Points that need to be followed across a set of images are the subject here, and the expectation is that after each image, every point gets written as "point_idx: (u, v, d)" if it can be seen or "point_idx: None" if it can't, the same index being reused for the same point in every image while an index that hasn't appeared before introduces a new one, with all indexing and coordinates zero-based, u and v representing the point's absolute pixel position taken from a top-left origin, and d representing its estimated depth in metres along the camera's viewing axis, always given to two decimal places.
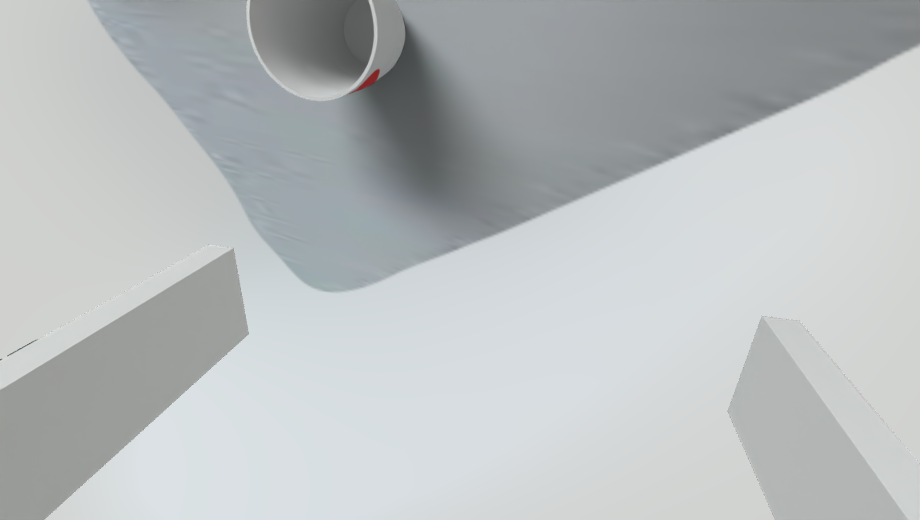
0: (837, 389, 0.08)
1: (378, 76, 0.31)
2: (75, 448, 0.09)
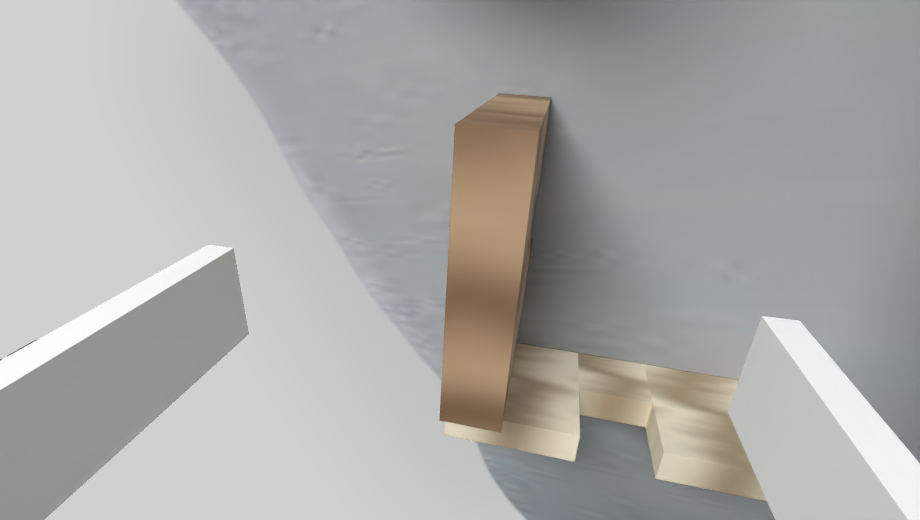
0: (837, 389, 0.08)
1: None
2: (75, 448, 0.09)
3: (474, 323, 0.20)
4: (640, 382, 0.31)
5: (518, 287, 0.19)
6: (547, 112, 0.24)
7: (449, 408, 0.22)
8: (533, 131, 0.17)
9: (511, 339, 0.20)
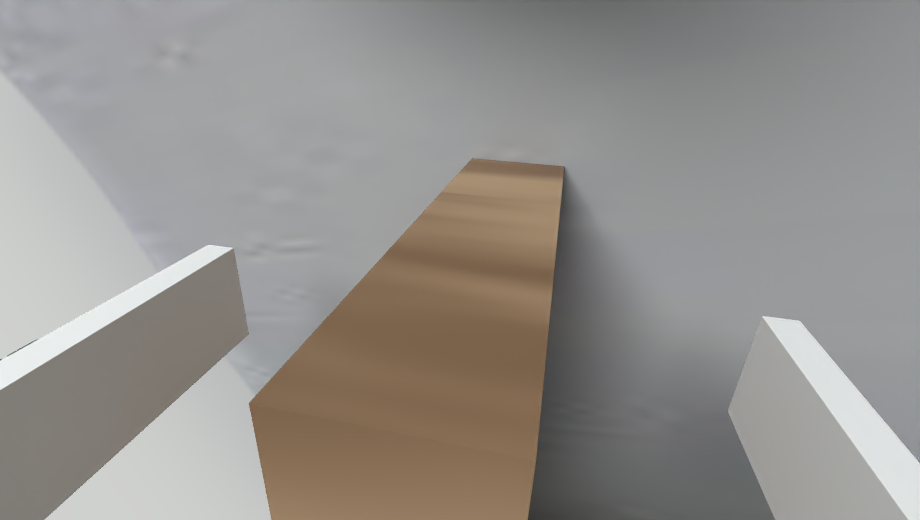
0: (837, 389, 0.08)
1: None
2: (75, 448, 0.09)
3: None
4: None
5: None
6: None
7: None
8: (515, 451, 0.05)
9: None
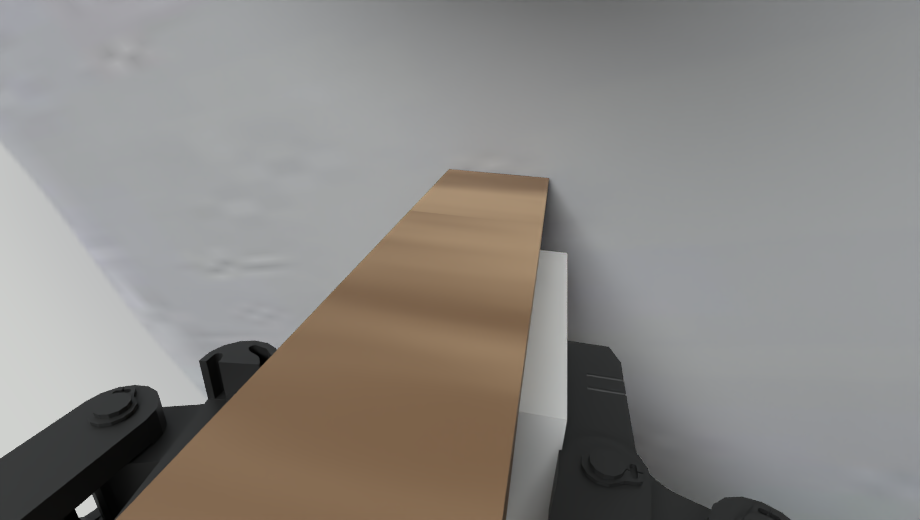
0: (551, 290, 0.11)
1: None
2: None
3: None
4: None
5: None
6: None
7: None
8: None
9: None
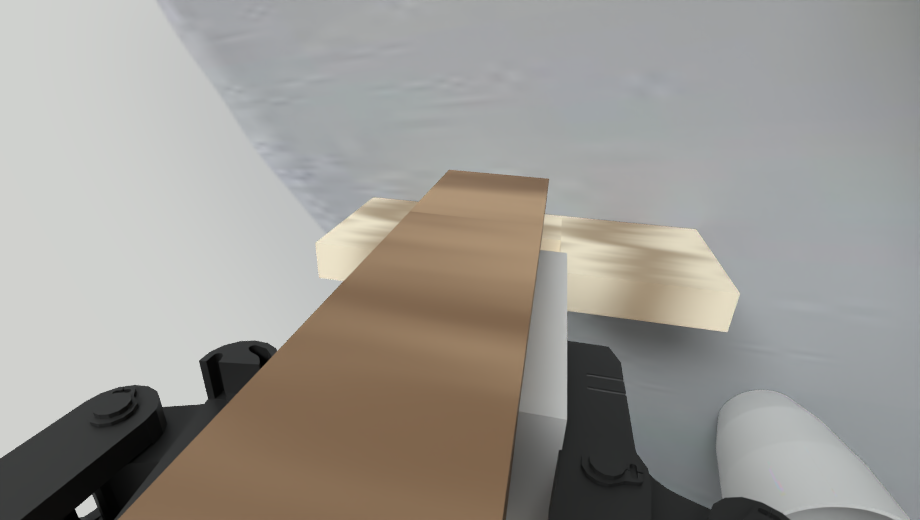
0: (551, 290, 0.11)
1: None
2: None
3: None
4: (552, 227, 0.27)
5: None
6: None
7: None
8: None
9: None
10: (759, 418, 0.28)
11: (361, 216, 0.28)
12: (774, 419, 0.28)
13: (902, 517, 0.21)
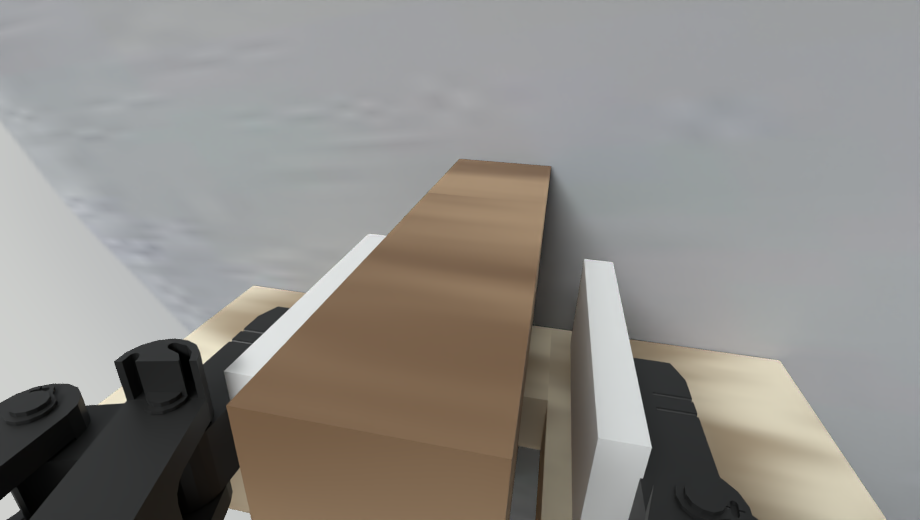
0: (605, 303, 0.11)
1: None
2: None
3: None
4: (534, 360, 0.16)
5: None
6: (544, 217, 0.12)
7: None
8: (491, 449, 0.05)
9: None
10: None
11: (207, 337, 0.16)
12: None
13: None
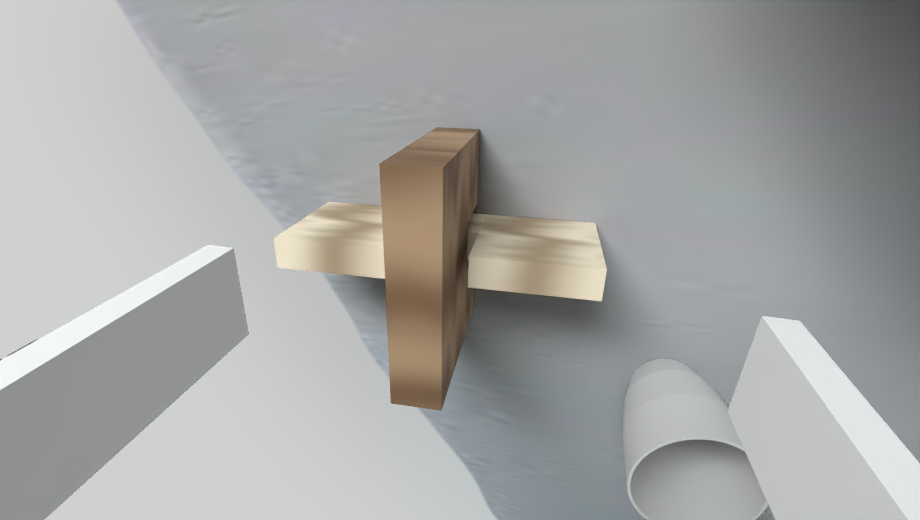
0: (837, 389, 0.08)
1: None
2: (75, 448, 0.09)
3: (410, 319, 0.25)
4: (475, 223, 0.33)
5: (441, 288, 0.24)
6: (470, 144, 0.29)
7: (397, 392, 0.27)
8: (438, 167, 0.22)
9: (440, 331, 0.25)
10: (653, 379, 0.34)
11: (315, 217, 0.33)
12: (663, 379, 0.33)
13: None
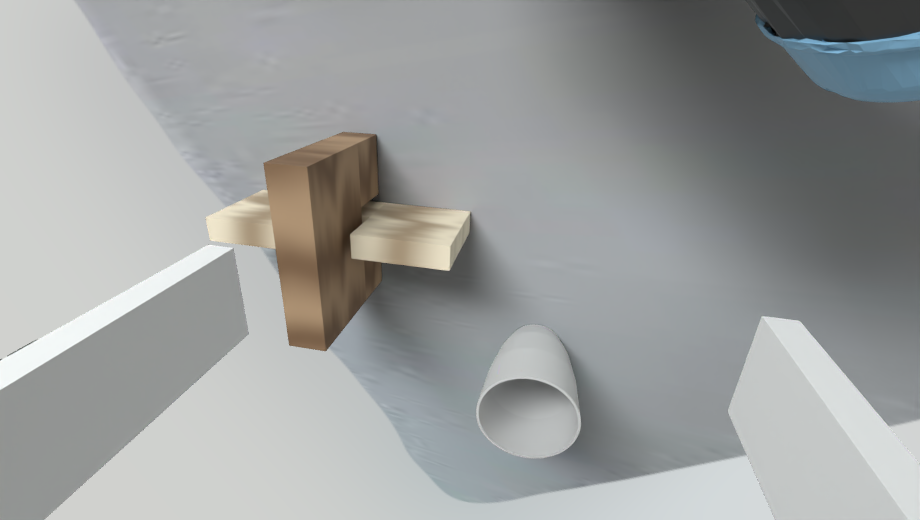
0: (837, 389, 0.08)
1: None
2: (75, 448, 0.09)
3: (296, 279, 0.33)
4: (372, 209, 0.41)
5: (315, 256, 0.32)
6: (357, 147, 0.37)
7: (293, 337, 0.36)
8: (304, 166, 0.30)
9: (318, 288, 0.33)
10: (515, 338, 0.42)
11: (246, 202, 0.41)
12: (521, 338, 0.41)
13: (556, 384, 0.35)
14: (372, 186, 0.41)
